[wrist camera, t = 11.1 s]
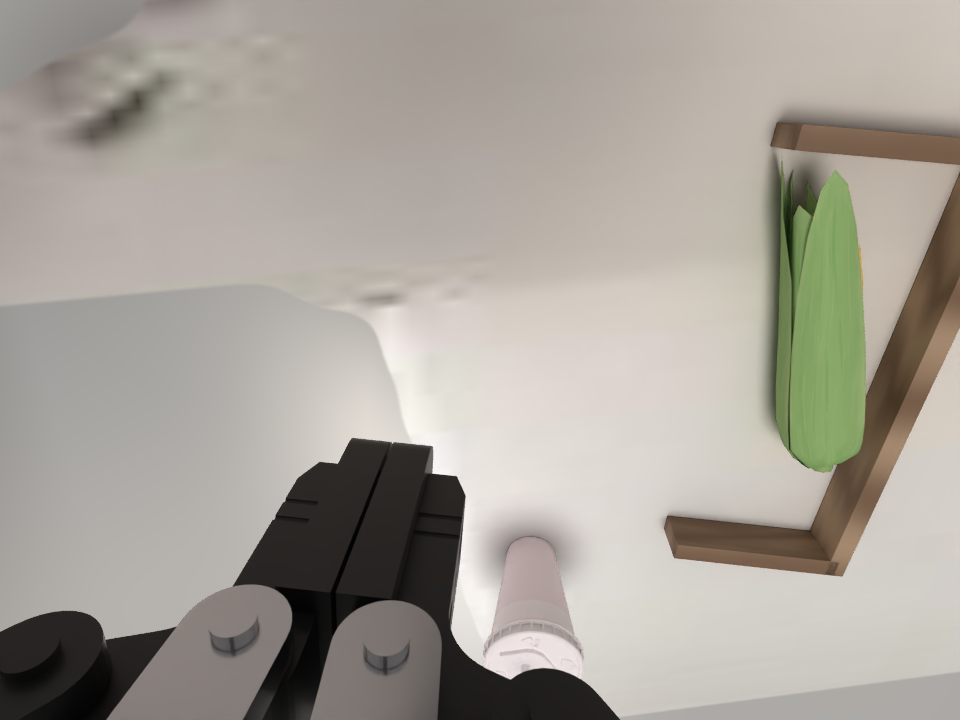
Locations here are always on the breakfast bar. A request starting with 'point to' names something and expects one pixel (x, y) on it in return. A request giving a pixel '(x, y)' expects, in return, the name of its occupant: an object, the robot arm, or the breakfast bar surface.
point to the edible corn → (820, 329)
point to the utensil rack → (891, 398)
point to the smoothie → (532, 616)
